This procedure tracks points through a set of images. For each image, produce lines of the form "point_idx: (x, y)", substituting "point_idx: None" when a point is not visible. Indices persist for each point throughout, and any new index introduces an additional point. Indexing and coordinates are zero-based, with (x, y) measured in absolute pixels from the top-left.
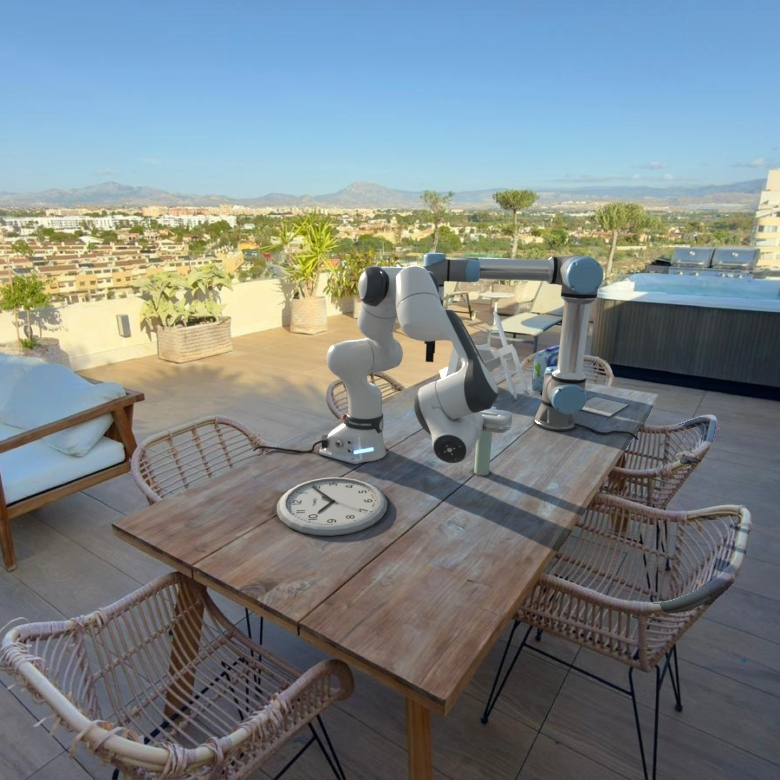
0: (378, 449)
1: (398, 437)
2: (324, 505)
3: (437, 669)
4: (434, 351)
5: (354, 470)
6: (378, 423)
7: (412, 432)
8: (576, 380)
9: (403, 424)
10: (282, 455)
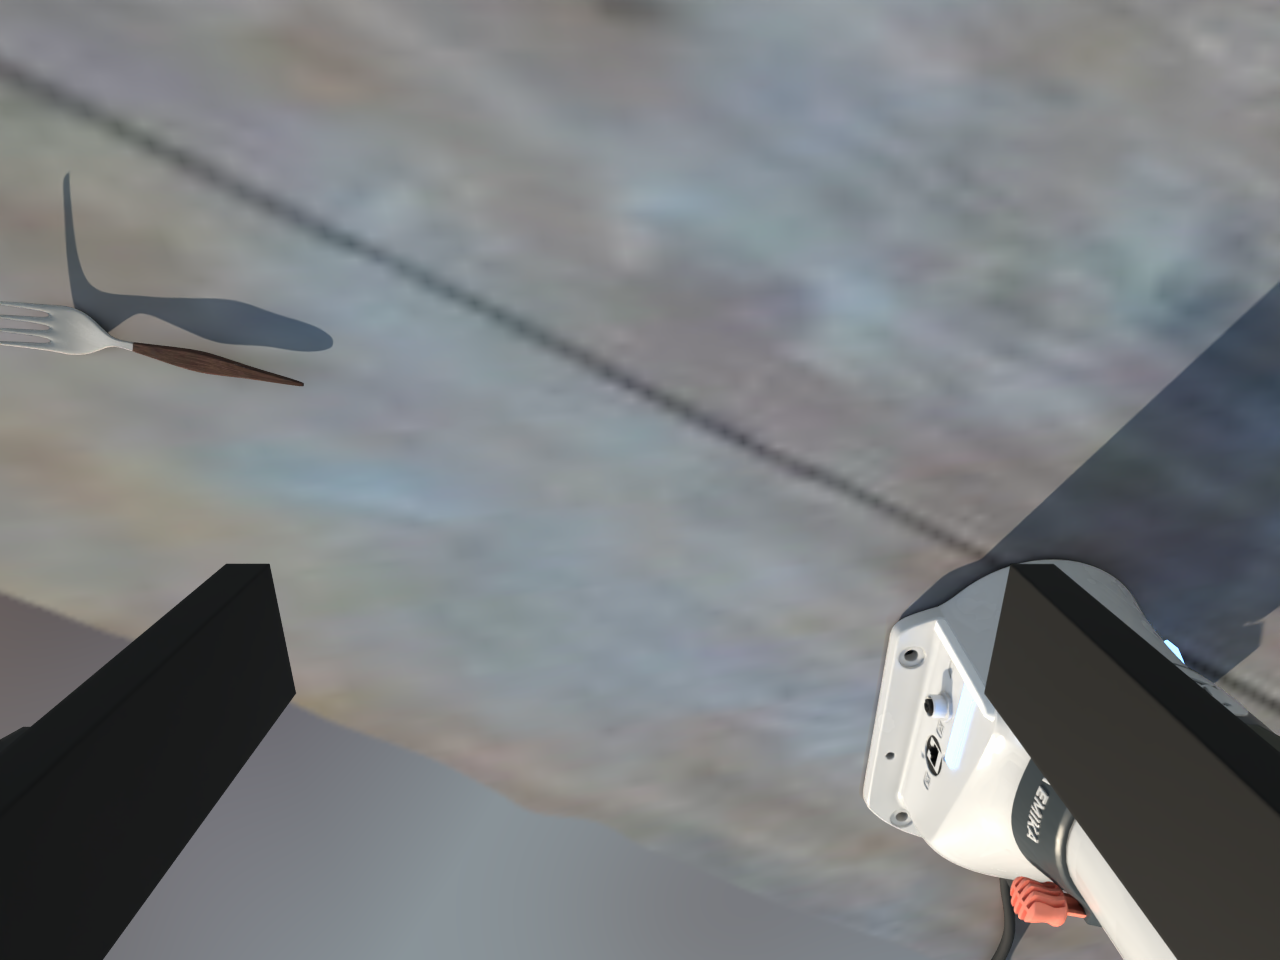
0: (1140, 615)
1: (801, 518)
2: None
3: None
4: (247, 590)
5: (1227, 670)
6: (1257, 719)
7: (710, 445)
8: None
9: (580, 510)
10: (1039, 946)
